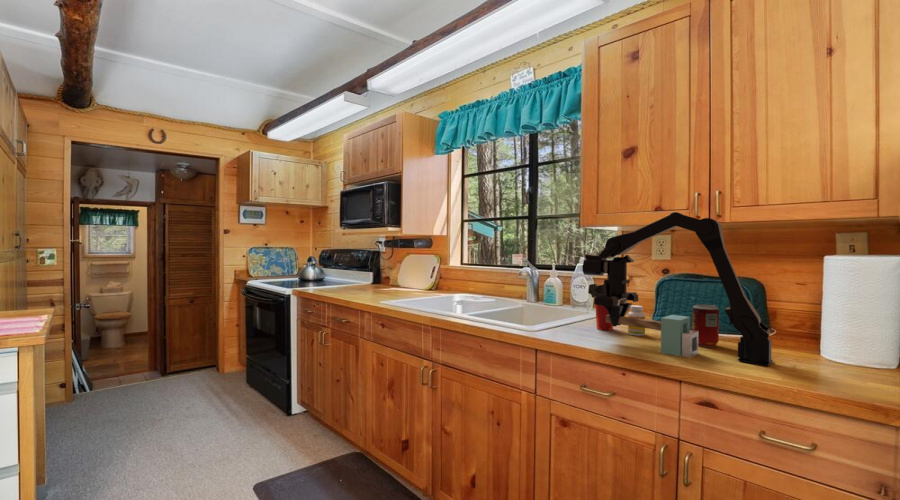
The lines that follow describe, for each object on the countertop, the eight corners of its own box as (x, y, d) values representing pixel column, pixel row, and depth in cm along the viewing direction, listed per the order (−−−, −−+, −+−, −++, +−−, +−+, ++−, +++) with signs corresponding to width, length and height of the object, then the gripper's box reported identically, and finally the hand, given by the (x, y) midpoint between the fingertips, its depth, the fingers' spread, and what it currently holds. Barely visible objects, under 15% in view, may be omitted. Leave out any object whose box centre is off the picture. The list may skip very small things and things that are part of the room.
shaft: (670, 330, 123) (670, 322, 123) (667, 331, 122) (667, 323, 122) (609, 321, 137) (609, 314, 137) (605, 322, 136) (605, 315, 135)
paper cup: (620, 329, 153) (621, 291, 152) (603, 331, 150) (604, 292, 150) (605, 326, 160) (605, 289, 160) (589, 327, 157) (589, 289, 157)
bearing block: (689, 351, 122) (690, 316, 122) (679, 356, 117) (680, 320, 117) (671, 348, 126) (671, 314, 126) (660, 352, 120) (661, 317, 120)
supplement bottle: (646, 336, 142) (647, 307, 142) (629, 335, 143) (630, 307, 143) (642, 333, 148) (643, 305, 147) (626, 332, 149) (626, 304, 148)
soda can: (724, 347, 127) (724, 306, 127) (704, 348, 126) (704, 307, 126) (705, 342, 134) (706, 303, 134) (686, 343, 133) (686, 304, 133)
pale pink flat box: (698, 353, 120) (698, 331, 120) (690, 357, 116) (690, 334, 116) (689, 352, 122) (690, 330, 122) (681, 356, 117) (681, 333, 117)
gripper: (606, 273, 146) (606, 318, 146) (578, 276, 133) (578, 325, 134) (639, 275, 138) (638, 323, 138) (612, 278, 125) (611, 331, 125)
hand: (616, 325), depth 134 cm, fingers closed on shaft, 2 cm apart
